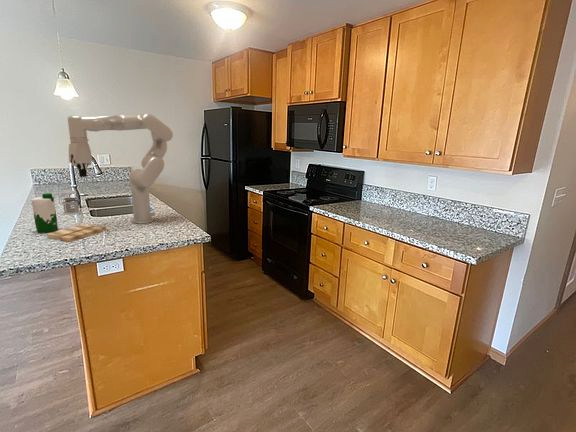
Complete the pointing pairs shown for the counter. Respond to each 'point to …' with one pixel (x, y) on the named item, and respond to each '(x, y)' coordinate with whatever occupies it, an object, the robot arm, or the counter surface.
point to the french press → (70, 203)
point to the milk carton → (45, 213)
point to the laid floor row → (82, 233)
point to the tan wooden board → (67, 231)
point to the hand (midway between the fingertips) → (83, 176)
